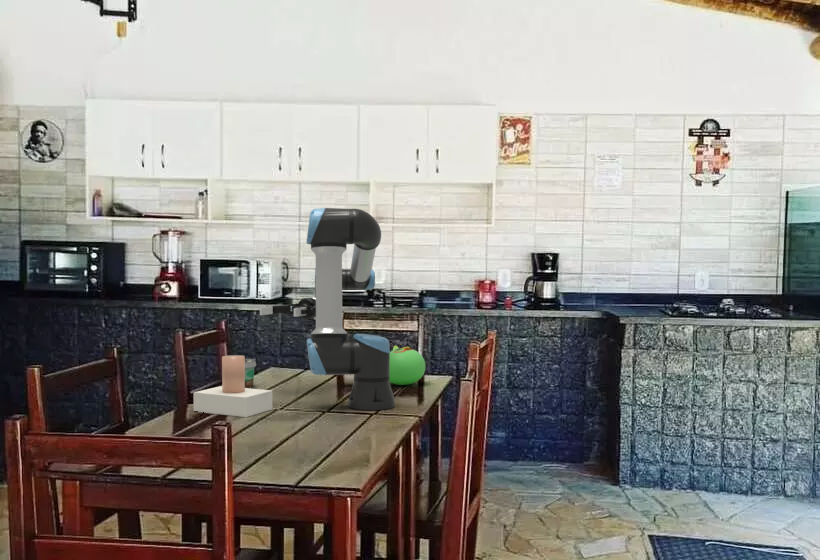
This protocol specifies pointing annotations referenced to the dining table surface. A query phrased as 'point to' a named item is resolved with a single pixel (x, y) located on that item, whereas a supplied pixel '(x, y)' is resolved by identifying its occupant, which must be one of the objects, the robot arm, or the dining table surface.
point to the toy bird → (405, 366)
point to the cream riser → (233, 402)
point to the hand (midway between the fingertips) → (277, 311)
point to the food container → (249, 372)
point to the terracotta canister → (233, 374)
